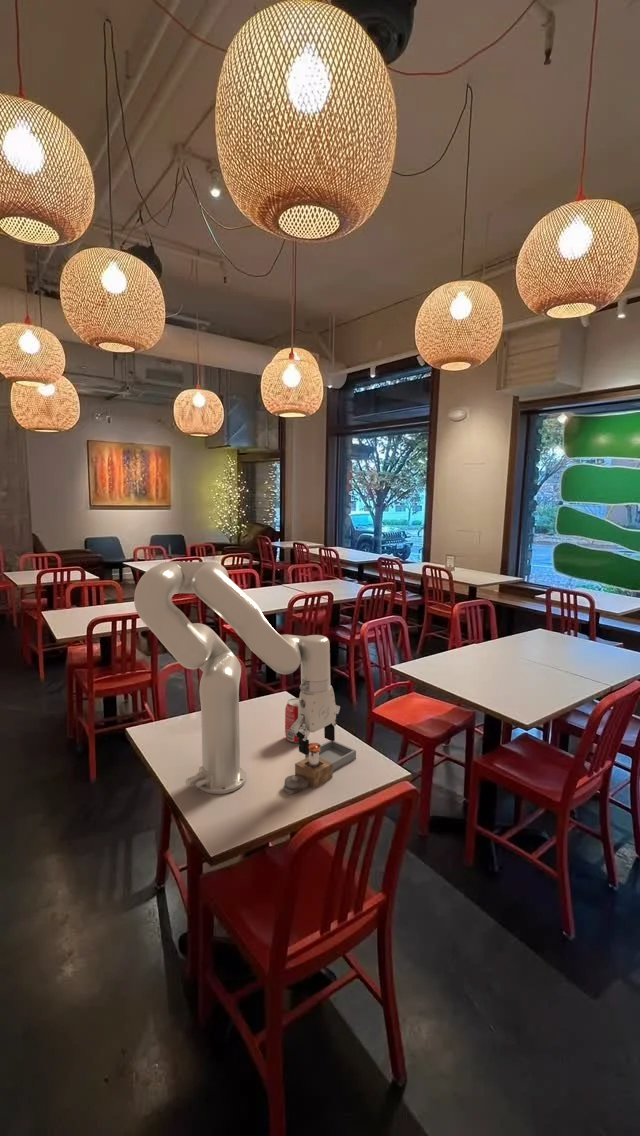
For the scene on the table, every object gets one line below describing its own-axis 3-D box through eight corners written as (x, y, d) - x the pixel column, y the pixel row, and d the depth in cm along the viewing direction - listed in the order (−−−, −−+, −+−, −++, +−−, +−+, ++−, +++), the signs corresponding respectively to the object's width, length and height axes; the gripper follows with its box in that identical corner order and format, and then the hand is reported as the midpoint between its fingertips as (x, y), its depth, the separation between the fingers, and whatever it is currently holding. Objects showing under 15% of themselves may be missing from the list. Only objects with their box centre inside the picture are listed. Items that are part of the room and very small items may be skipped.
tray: (329, 773, 136) (329, 765, 136) (305, 761, 142) (305, 753, 142) (355, 758, 144) (356, 750, 144) (331, 747, 150) (332, 739, 150)
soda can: (309, 734, 159) (309, 697, 157) (306, 745, 152) (306, 707, 150) (287, 733, 159) (287, 696, 158) (283, 743, 153) (283, 705, 151)
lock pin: (313, 782, 132) (314, 750, 130) (304, 777, 134) (304, 745, 133) (322, 777, 134) (323, 745, 133) (313, 772, 136) (313, 741, 135)
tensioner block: (297, 798, 125) (297, 783, 124) (278, 786, 130) (278, 772, 129) (332, 777, 134) (332, 763, 134) (313, 768, 139) (313, 754, 138)
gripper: (302, 697, 122) (303, 764, 124) (348, 677, 134) (349, 738, 137) (281, 689, 127) (283, 753, 129) (327, 671, 139) (328, 730, 142)
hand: (317, 746), depth 133 cm, fingers open, 9 cm apart
